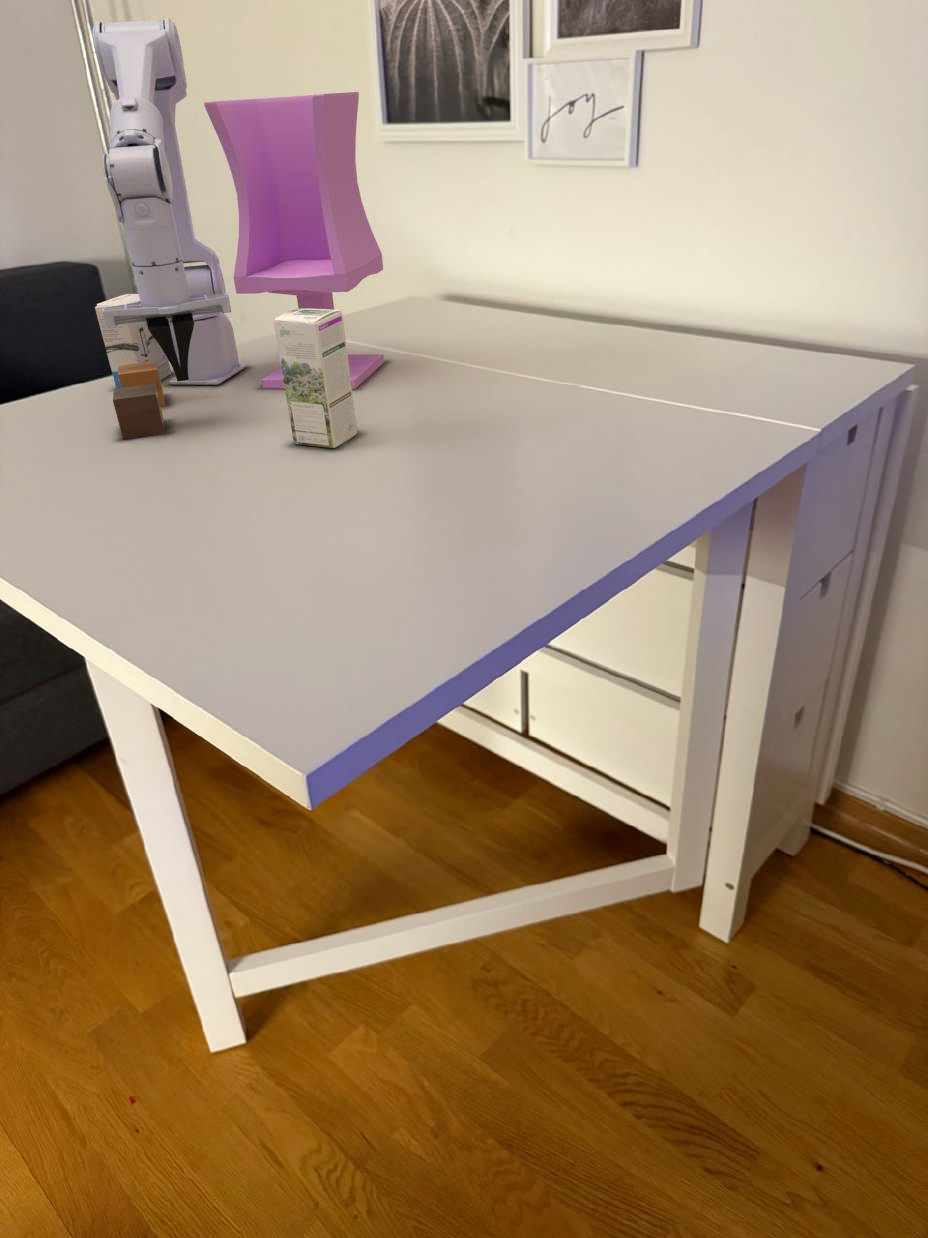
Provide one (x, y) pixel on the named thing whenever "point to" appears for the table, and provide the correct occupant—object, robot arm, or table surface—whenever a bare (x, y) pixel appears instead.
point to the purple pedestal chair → (298, 203)
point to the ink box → (130, 341)
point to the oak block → (141, 376)
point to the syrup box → (316, 376)
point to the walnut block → (138, 411)
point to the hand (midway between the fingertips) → (182, 378)
